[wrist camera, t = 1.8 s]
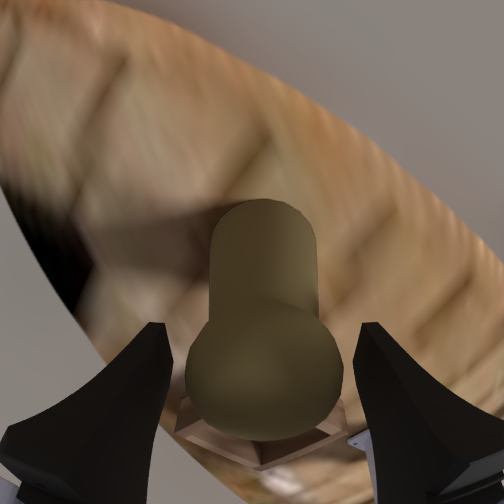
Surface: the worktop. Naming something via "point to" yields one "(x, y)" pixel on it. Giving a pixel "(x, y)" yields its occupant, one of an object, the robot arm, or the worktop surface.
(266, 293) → the cork
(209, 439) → the holder
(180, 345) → the worktop surface
